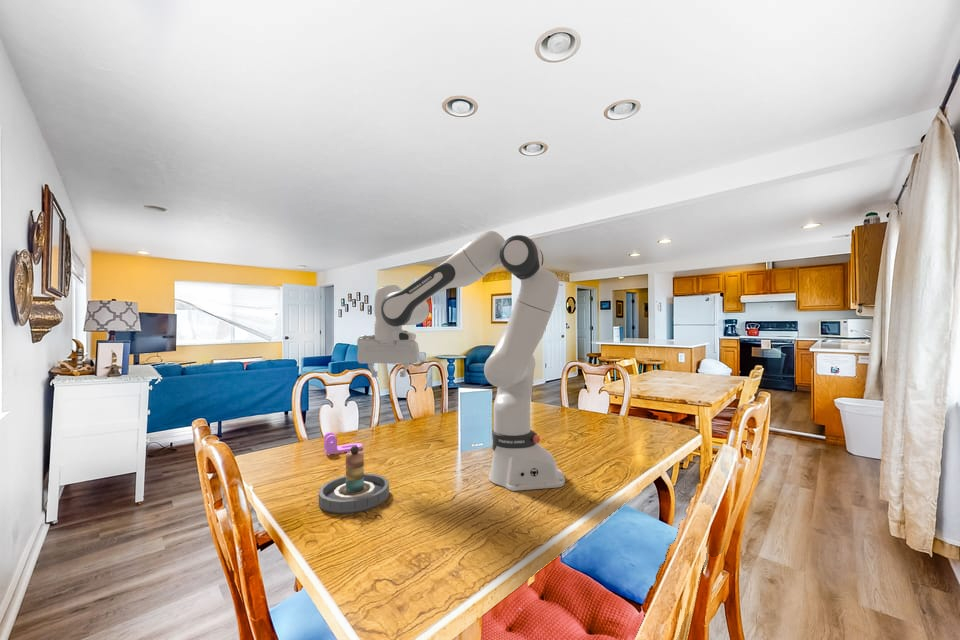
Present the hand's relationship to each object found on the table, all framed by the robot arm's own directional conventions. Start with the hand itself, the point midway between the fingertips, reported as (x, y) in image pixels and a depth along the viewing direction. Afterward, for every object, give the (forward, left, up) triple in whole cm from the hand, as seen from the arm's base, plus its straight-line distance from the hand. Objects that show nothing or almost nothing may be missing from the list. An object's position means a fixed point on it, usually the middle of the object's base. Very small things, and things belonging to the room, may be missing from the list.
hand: (388, 376), depth 130 cm
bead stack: (+3, +24, -28) cm, 37 cm away
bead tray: (+3, +24, -29) cm, 38 cm away
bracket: (+21, -15, -30) cm, 39 cm away
